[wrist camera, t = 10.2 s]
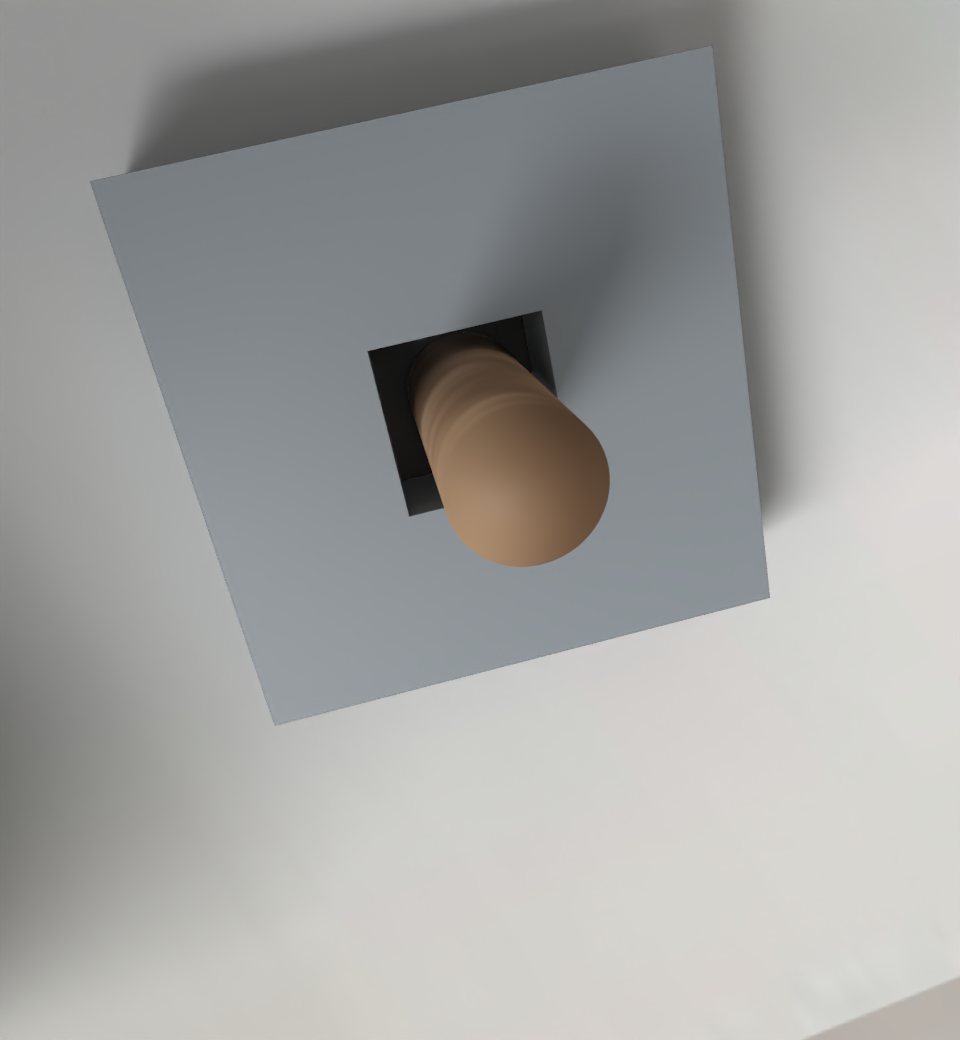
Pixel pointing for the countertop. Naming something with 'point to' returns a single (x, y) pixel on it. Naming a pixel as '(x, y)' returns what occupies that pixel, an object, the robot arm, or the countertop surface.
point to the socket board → (436, 310)
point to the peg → (505, 453)
